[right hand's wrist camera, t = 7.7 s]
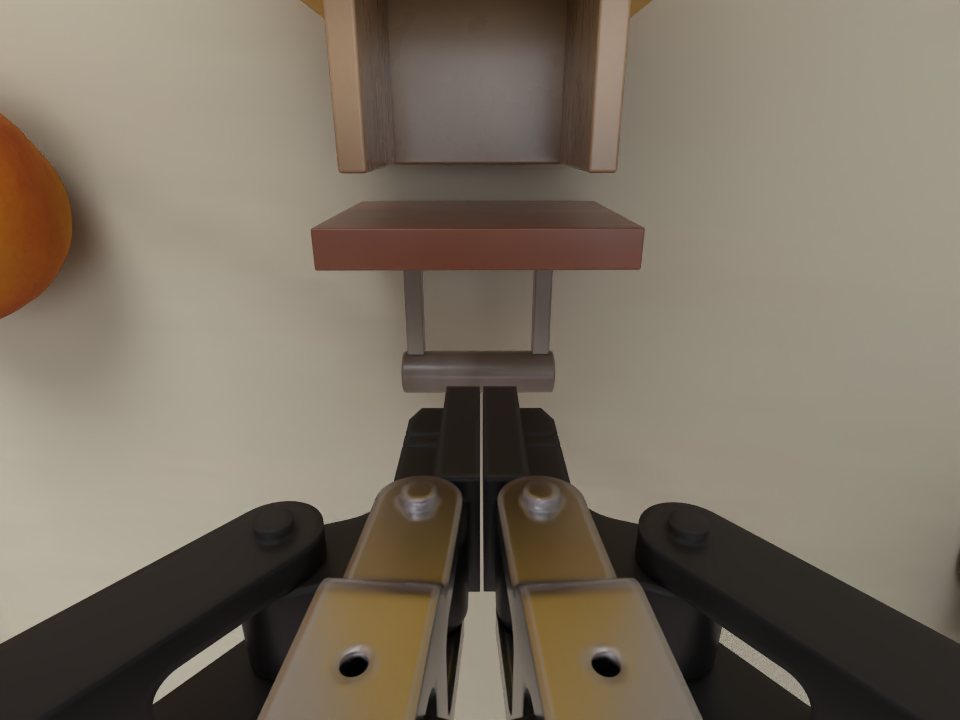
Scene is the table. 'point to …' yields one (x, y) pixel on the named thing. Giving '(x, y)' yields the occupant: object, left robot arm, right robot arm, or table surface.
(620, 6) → the drawer
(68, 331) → the table surface
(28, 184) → the fruit
